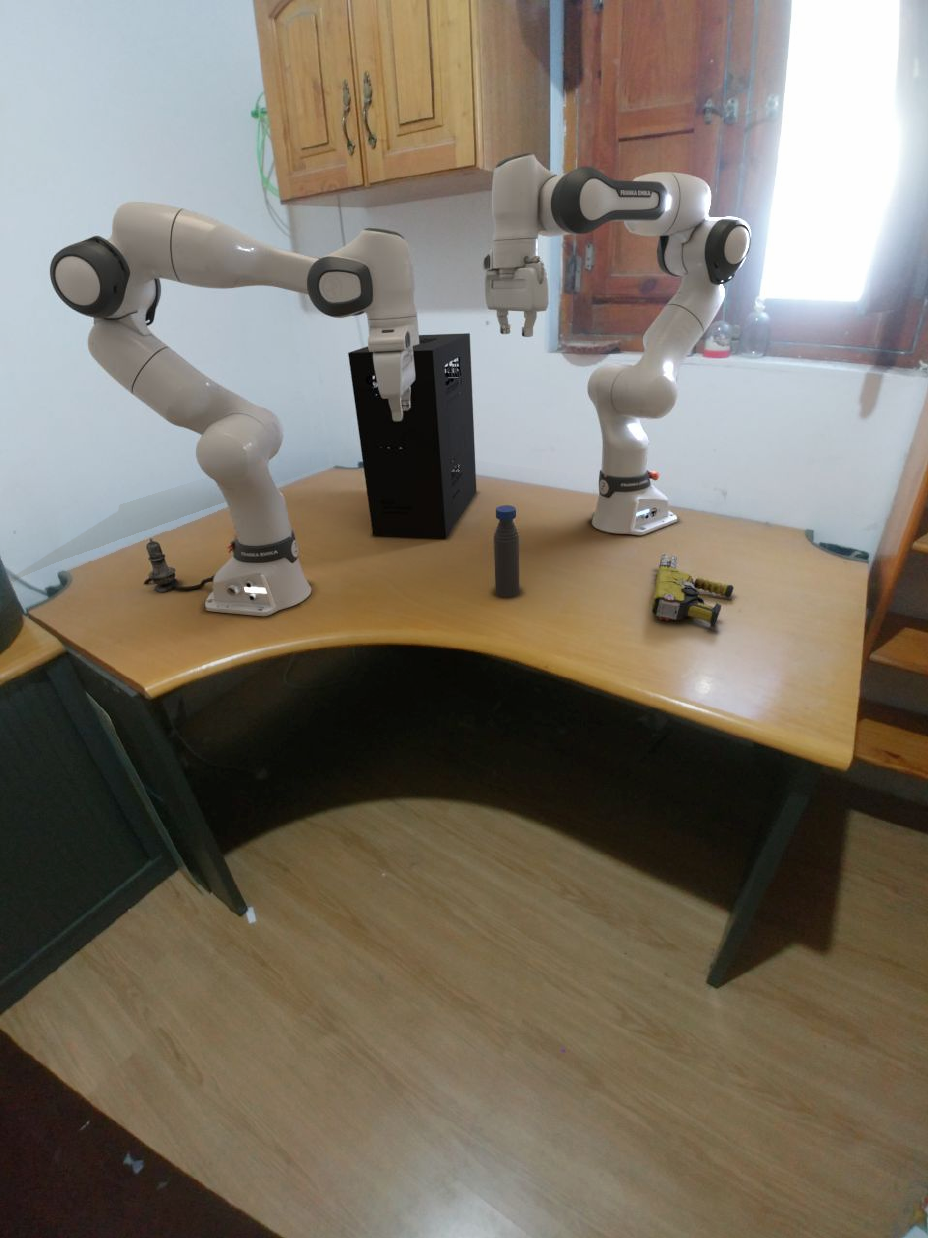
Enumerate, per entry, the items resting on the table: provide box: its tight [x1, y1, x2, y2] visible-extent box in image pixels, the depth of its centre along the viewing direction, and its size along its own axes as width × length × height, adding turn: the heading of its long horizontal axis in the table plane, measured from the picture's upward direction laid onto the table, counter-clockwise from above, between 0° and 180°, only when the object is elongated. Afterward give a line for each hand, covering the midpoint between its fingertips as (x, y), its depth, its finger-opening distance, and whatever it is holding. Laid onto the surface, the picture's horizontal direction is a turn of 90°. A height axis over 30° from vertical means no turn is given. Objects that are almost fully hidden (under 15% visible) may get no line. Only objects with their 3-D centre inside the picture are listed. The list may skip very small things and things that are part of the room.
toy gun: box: [650, 553, 734, 628], centre depth 121 cm, size 5×24×15 cm
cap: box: [495, 504, 517, 521], centre depth 120 cm, size 4×4×2 cm
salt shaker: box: [145, 538, 180, 593], centre depth 137 cm, size 6×6×12 cm
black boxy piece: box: [347, 332, 477, 540], centre depth 163 cm, size 38×20×45 cm, turn 167°
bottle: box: [493, 519, 520, 599], centre depth 125 cm, size 5×5×18 cm
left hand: (402, 414), depth 115 cm, fingers open, 8 cm apart
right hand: (516, 335), depth 125 cm, fingers open, 8 cm apart
